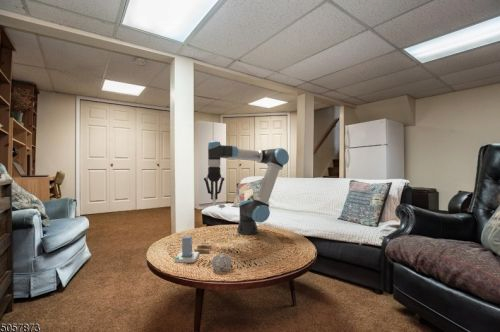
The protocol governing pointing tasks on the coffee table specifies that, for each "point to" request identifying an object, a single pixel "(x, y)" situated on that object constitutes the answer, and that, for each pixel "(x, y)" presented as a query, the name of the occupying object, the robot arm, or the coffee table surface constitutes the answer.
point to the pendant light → (221, 258)
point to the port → (186, 259)
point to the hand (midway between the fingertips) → (214, 204)
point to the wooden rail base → (203, 249)
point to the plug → (187, 246)
